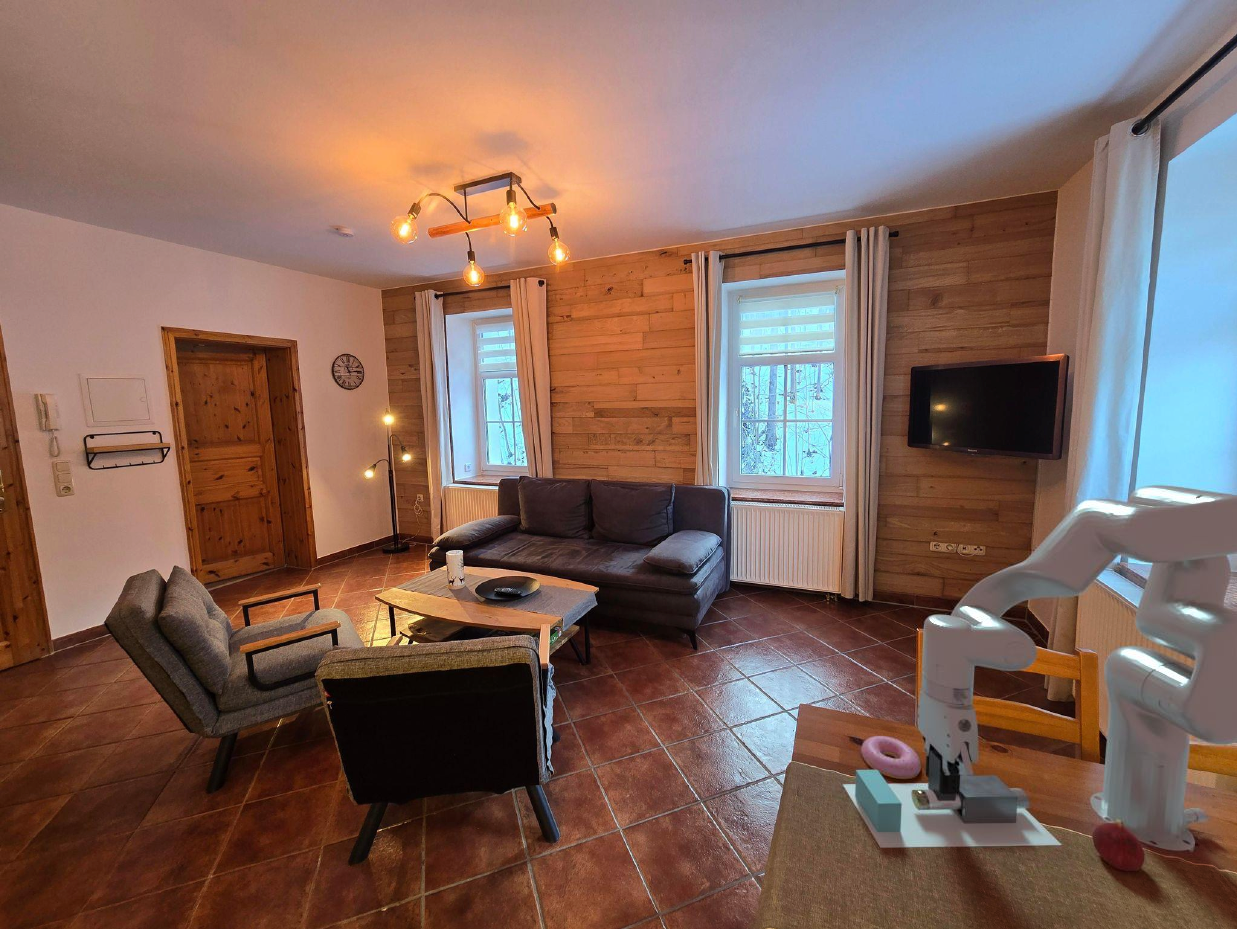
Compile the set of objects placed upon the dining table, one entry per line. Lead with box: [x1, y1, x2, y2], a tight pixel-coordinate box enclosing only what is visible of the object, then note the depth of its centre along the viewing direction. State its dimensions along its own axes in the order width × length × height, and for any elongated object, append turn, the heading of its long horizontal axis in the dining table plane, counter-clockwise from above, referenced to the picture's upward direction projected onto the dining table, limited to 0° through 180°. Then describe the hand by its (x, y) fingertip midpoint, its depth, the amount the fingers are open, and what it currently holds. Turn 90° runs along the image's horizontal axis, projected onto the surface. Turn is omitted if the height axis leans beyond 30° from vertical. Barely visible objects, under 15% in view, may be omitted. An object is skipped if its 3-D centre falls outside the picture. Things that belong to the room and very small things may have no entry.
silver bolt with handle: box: [911, 750, 1030, 810], centre depth 87 cm, size 19×3×10 cm, turn 90°
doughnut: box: [860, 735, 922, 780], centre depth 101 cm, size 11×11×4 cm
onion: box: [1091, 819, 1146, 872], centre depth 78 cm, size 6×6×8 cm
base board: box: [842, 782, 1063, 849], centre depth 88 cm, size 30×14×1 cm, turn 90°
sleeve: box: [953, 775, 1018, 824], centre depth 88 cm, size 9×5×5 cm, turn 90°
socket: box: [855, 769, 902, 832], centre depth 88 cm, size 4×8×5 cm, turn 0°
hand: (942, 783), depth 88 cm, fingers closed on silver bolt with handle, 3 cm apart
